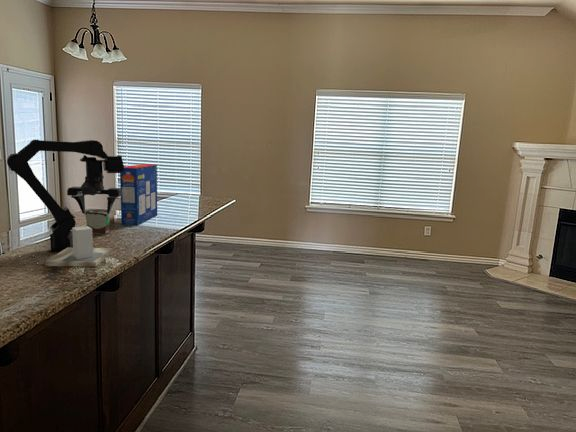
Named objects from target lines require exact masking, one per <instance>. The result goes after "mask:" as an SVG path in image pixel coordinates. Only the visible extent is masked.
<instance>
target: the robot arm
mask: <svg viewBox="0 0 576 432" xmlns="http://www.w3.org/2000/svg"><path fill="white" fill-rule="evenodd" d="M39 152H63V153H76V154H77V153H78V154H83V156H82V157H80V159H79V161H80V162H83V163H85V173H86V174H85V175H86V176H85V178H84V182H83V183H82V184H81V186H70V187H68V188H67V189H66V190H67V191H66V195H67V196H69V197H71V198H72V199H74V200H75V201H76V203H77V204H78V206H79V209H80V211H81V213H82V214H83V215H84V213H85V210H86V203H85V202H86V201H85V196H87V195H89V196H96V195H107V197H106V199H107V207H106V208H107V209H106V210H107V213H108V214H109V213H111V211H112V207H113V205H114V202H115V201H116V199H118V198H119V197H121V195H122V189H121V188H120V187H109V188H108V189H105V186H104V175H103V174H104V172H106V174H120V173H123V172H124V167H125V164H124V161H123V156H122V155H115V156H114V155H108V154H107V152H106V151H104V147H103V145H102V143H101V142H100V141H98V140H94V139H90V140H87V139H86V140H81V141H60V140H59V141H57V140H40V139H32V140H30V142H29V143H28V144H26V146H24V147H23V148H22V149H20V150H19V151H18V152H17V153H16V152H14V153H10V154H9V156H8V157H7V158H6V163H7V166H8V167H9V169H10V170H12V172H14V173H15V174H16V175H18V177H20V178H21V179H22V180H24V181H25V183H26V184H27V185H28V186H29V187H30V188H31V190H32V191H33V192H34V193H35V194H36V196H37V197H38V198H39V199H40V200H41V202H42V203H43V204H44V206H45V207H46V208H47V209H48V210H49V212H50V213H51V215H52V217H53V219H54V220H55V222H54V223H53V224H51V226H50V230H51V232H52V233H50V234H49V239H50V249H48V252H50V253H51V252H53V253H54V252H55V253H56V252H57V253H60V252H61V251H63V250H64V249H66V248H67V247H68V248H73V236H72V232H71V231H72V228H73V227H76V224H77V223H76V220H75V218H76V216H75V215H74V213H72V212H71V211H70V209H69V208H68V207H67V206H65V207H62V206H60V205H59V203H58V202H57V201H56V200H55V198H54V197H53V196H52V194H50V192H49V191H48V190H47V189H46V188H45V186H44V185H43V184H42V182H41V181H40V180H39V178H38V177H37V176H36V175H35V173H34V172H33V169H32V168H31V166H30V163H29V161H30V160H32V158H33V157H35V156H36V155H37V154H38V153H39ZM87 155H88V156H87ZM97 158H99V159H97ZM103 171H104V172H103Z"/></svg>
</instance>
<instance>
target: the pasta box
mask: <svg viewBox="0 0 576 432" xmlns="http://www.w3.org/2000/svg"><path fill="white" fill-rule="evenodd" d="M119 179H120V180H119V182H120V183H119V184H120V186H119V188H121V189H122V195H121V196H120V216H121V219H120V220H121V226H133V225H136V227H137V226H140V225H142V224H144V223H146V222H147V221H149V220H152V219H154V218H156V217H157V216H158V164H150V163H149V164H147V163H141V164H140V163H139V164H135V165H127V166H124V172H123V173H119Z"/></svg>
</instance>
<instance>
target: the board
mask: <svg viewBox="0 0 576 432" xmlns="http://www.w3.org/2000/svg"><path fill="white" fill-rule="evenodd" d="M112 253H113V248H112V247H93V257H90V258H83V259H77V258H76V257H75V256H74V253H73V248H68V247H67V248H66V249H64V250H63V251H61V252H57V254H55V255H53V256H52V257H50V258H49V259H47V260H45V261H44V264H45V267H97V266H99V264H100V263H102V262H103V261H104V260H105V259H106V258H107V257H108V256H110V255H111V254H112Z"/></svg>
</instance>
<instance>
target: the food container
mask: <svg viewBox="0 0 576 432" xmlns="http://www.w3.org/2000/svg"><path fill="white" fill-rule="evenodd" d="M83 215H85V221H86V226H88V227H90V228H92V234H96V235H104V236H107V235H109V233H110V231H109V230H110V218H111V217H112V213H111V212H110V213H109V214H108V213H107V209H103V208H102V209H99V208H97V209H96V208H95V209H93V208H92V209H85V213H84V214H83Z"/></svg>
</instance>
